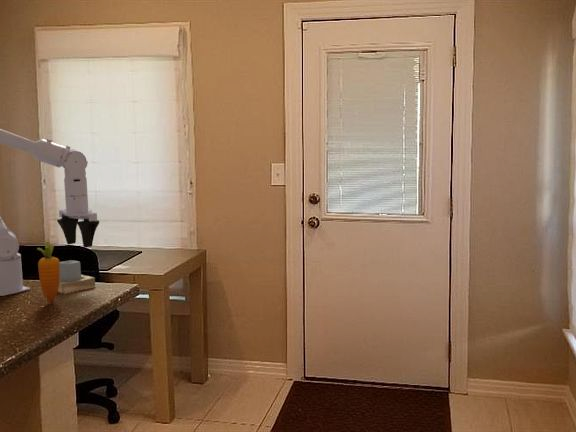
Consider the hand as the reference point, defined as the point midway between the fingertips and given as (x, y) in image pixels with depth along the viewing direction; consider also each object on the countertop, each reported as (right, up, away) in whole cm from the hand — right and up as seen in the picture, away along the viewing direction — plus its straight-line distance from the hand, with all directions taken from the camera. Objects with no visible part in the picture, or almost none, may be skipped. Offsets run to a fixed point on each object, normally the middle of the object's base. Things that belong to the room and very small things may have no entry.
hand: (79, 245), depth 175 cm
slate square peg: (-1, -11, -4) cm, 12 cm away
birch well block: (-1, -11, -4) cm, 12 cm away
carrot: (-1, -14, -18) cm, 23 cm away
